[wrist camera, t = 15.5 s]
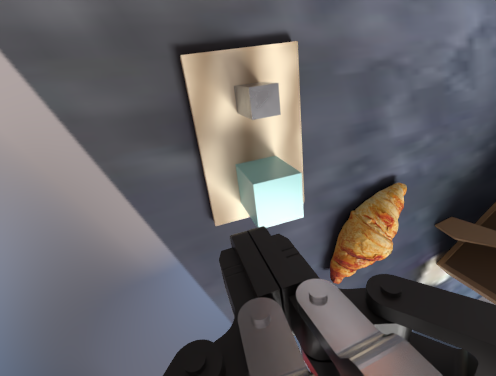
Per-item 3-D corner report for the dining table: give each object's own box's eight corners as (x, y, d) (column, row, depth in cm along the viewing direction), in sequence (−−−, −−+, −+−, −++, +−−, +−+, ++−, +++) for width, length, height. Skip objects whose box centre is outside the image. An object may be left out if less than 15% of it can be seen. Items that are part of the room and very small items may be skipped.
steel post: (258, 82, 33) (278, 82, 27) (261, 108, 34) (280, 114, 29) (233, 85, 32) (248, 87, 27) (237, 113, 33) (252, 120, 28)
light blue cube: (275, 155, 37) (301, 172, 30) (278, 193, 39) (303, 217, 33) (235, 164, 36) (253, 184, 29) (241, 202, 38) (258, 229, 31)
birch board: (292, 42, 33) (297, 41, 32) (299, 198, 43) (304, 202, 41) (179, 56, 30) (180, 55, 29) (213, 221, 39) (215, 226, 38)
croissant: (371, 167, 49) (389, 169, 41) (419, 196, 49) (446, 203, 41) (308, 260, 52) (314, 278, 45) (353, 287, 52) (366, 311, 44)
